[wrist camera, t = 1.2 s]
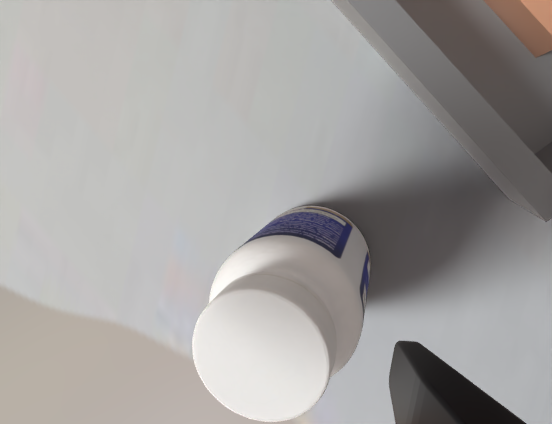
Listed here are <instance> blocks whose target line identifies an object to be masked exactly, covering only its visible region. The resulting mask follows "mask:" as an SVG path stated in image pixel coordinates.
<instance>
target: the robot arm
mask: <svg viewBox="0 0 552 424" xmlns="http://www.w3.org/2000/svg"><path fill="white" fill-rule="evenodd" d="M389 388H390V394H391V399H392V405H393V411H394V417H395V422H396V424H526V423H525V422H524V421H522V420H521V419H520V418H518V417H517V416H516V415H514V414H513V413H512V412H510V411H509V410H508V409H506V408H505V407H504V406H502V405H501V404H500V403H498V402H497V401H496V400H494V399H493V398H492V397H490V396H489V395H488V394H486V393H485V392H484V391H482V390H481V389H480V388H478V387H477V386H476V385H474V384H473V383H472V382H470V381H469V380H468V379H466V378H465V377H464V376H463V375H461V374H460V373H459V372H457V371H456V370H455V369H453V368H452V367H451V366H449V365H448V364H447V363H445V362H444V361H443V360H441V359H440V358H439V357H437V356H436V355H435V354H433V353H432V352H431V351H429V350H428V349H427V348H425V347H424V346H423V345H421V344H420V343H418V342H412V341H398V342H397V343H396V345H395V347H394V353H393V358H392V364H391V369H390V375H389Z"/></svg>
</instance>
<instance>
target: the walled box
mask: <svg viewBox="0 0 552 424" xmlns="http://www.w3.org/2000/svg"><path fill="white" fill-rule="evenodd" d="M331 1H332V2H333V3H334V4H335V5H336V6H337V7H338V8H339V10H340V11H341V12H342V13H343V14H344V15H345V16H346V17H347V19H348V20H349V21H350V22H351V23H352V24H353V25H354V26H355V27H356V29H357V30H358V31H359V32H360V33H361V34H362V35H363V36H364V38H365V39H366V40H367V41H368V42H369V43H370V44H371V45H372V46H373V48H374V49H375V50H376V51H377V52H378V53H379V54H380V55H381V57H382V58H383V59H384V60H385V61H386V62H387V63H388V64H389V65H390V67H391V68H392V69H393V70H394V71H395V72H396V73H397V74H398V76H399V77H400V78H401V79H402V80H403V81H404V82H405V83H406V84H407V86H408V87H409V88H410V89H411V90H412V91H413V92H414V93H415V95H416V96H417V97H418V98H419V99H420V100H421V101H422V102H423V103H424V105H425V106H426V107H427V108H428V109H429V110H430V111H431V112H432V114H433V115H434V116H435V117H436V118H437V119H438V120H439V121H440V122H441V124H442V125H443V126H444V127H445V128H446V129H447V130H448V131H449V132H450V134H451V135H452V136H453V137H454V138H455V139H456V140H457V141H458V143H459V144H460V145H461V146H462V147H463V148H464V149H465V150H466V151H467V153H468V154H469V155H470V156H471V157H472V158H473V159H474V160H475V162H476V163H477V164H478V165H479V166H480V167H481V168H482V169H483V170H484V172H485V173H486V174H487V175H488V176H489V177H490V178H491V179H492V181H493V182H494V183H495V184H496V185H497V186H498V187H499V188H500V189H501V191H502V192H503V193H504V194H505V195H506V196H507V197H508V198H509V199H510V200H511V201H513V202H515V203H516V204H518V205H519V206H521V207H523V208H524V209H526V210H528V211H529V212H531V213H532V214H534V215H536V216H537V217H539V218H540V219H542V220H544V221H545V222H547V221H548V220H550V219H551V218H552V0H331Z"/></svg>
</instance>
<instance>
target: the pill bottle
mask: <svg viewBox="0 0 552 424" xmlns="http://www.w3.org/2000/svg"><path fill="white" fill-rule="evenodd" d="M370 270H371V260H370V254H369V250H368V247H367V244H366V241H365V239H364V237H363V235H362V234H361V232H360V231H359V229H358V228H357V227H356V226H355V225H354V224H353V223H352V222H351V221H350V220H349V219H348V218H346V217H345V216H343V215H342V214H340V213H338V212H336V211H334V210H331V209H329V208H325V207H320V206H302V207H297V208H293V209H291V210H288V211H286V212H284V213H282V214H281V215H279V216H278V217H276V218H275V219H274V220H272V221H271V222H270V223H269V224H267V225H266V226H265V227H264V228H263V229H261V230H260V231H259V232H258V233H257V234H255V235H254V236H253V237H252V238H250V239H249V240H248V241H247V242H245V243H244V244H243V245H242V246H240V247H239V248H238V249H237V250H236V251H234V252H233V253H232V254H231V256H230V257H229V258H228V259H227V260H226V261H225V262H224V263H223V265H222V266H221V268H220V269H219V271H218V273H217V275H216V277H215V279H214V282H213V284H212V288H211V292H210V298H209V304H208V305H207V306H206V308H205V309H204V310H203V312H202V313H201V315H200V317H199V318H198V321H197V323H196V326H195V329H194V333H193V340H192V349H193V358H194V362H195V366H196V369H197V371H198V373H199V376H200V378H201V380H202V381H203V383H204V385H205V386H206V388H207V389H208V391H210V392H211V394H212V395H213V396H214V397H215V398H216V399H217V400H218V401H219V402H220V403H222V404H223V405H224V406H225V407H227V408H228V409H230V410H232V411H233V412H235V413H237V414H239V415H242V416H244V417H246V418H250V419H253V420H258V421H263V422H279V421H285V420H289V419H292V418H295V417H297V416H300V415H302V414H304V413H305V412H306V411H308V410H309V409H311V408H312V407H313V406H314V405H315V404H316V403H317V401H318V400H319V399H320V398H321V396H322V395H323V393H324V391H325V389H326V387H327V385H328V382H329V379H330V377H331V376H333V375H334V374H336V373H337V372H338V371H339V370H340V369H342V368H343V367H344V366H345V365H346V363H347V362H348V361H349V359H350V358H351V356H352V355H353V353H354V351H355V349H356V347H357V345H358V342H359V339H360V336H361V331H362V327H363V320H364V312H365V306H366V298H367V291H368V285H369V279H370Z"/></svg>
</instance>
